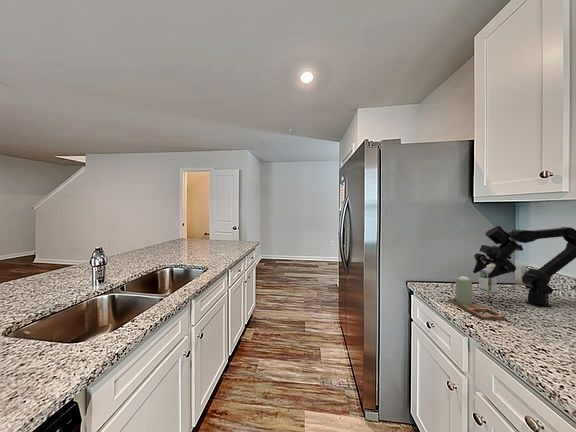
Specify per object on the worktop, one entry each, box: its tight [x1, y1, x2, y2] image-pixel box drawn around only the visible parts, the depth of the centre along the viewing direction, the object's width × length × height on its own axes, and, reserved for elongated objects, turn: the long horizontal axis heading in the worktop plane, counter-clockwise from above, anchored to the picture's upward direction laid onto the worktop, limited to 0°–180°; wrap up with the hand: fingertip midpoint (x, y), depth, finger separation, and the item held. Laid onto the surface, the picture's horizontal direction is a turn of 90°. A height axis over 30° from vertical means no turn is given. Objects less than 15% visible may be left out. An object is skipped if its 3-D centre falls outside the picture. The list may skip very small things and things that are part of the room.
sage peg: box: [455, 277, 473, 305], centre depth 121 cm, size 4×4×12 cm
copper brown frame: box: [448, 298, 506, 321], centre depth 115 cm, size 9×22×1 cm, turn 0°
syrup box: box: [478, 263, 497, 294], centre depth 140 cm, size 6×6×14 cm
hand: (481, 275), depth 121 cm, fingers open, 9 cm apart
